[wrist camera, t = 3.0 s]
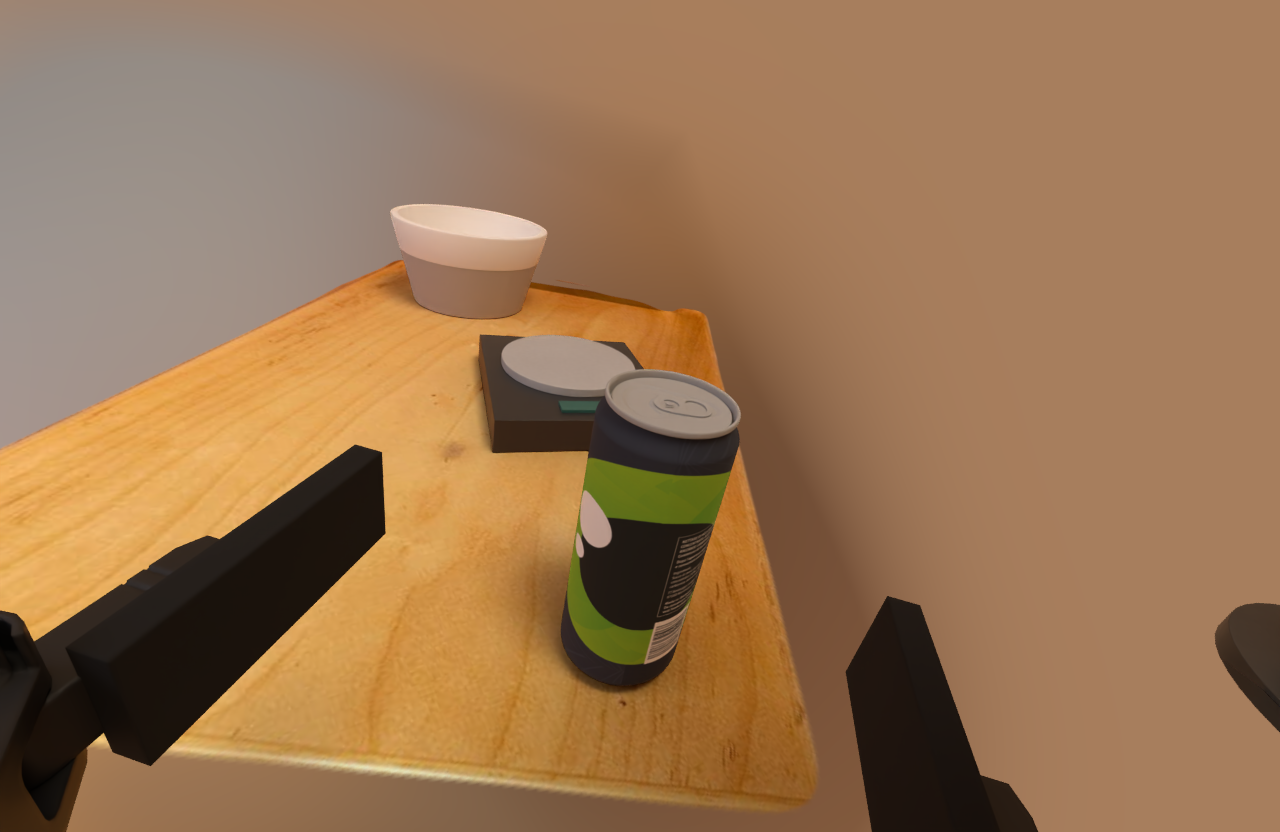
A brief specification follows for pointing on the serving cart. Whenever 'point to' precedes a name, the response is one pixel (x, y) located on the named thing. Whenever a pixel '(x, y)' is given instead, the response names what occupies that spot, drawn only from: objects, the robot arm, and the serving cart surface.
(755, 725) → the serving cart surface
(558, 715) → the serving cart surface
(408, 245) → the bowl
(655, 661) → the beverage can
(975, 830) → the robot arm
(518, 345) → the scale
